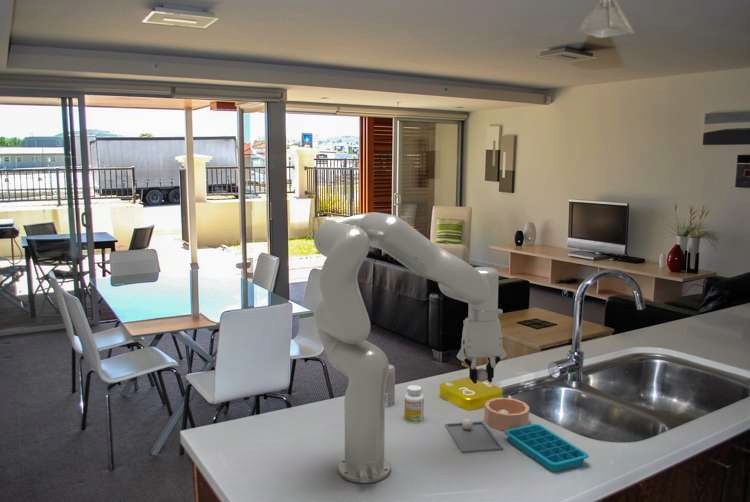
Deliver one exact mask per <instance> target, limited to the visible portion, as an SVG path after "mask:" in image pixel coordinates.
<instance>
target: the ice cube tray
mask: <svg viewBox="0 0 750 502" xmlns="http://www.w3.org/2000/svg"><path fill="white" fill-rule="evenodd" d="M504 434H505V435H506V436H507V437H508V439H507V440H508V442H509V443H511V444H513V445H514V446H515V447H516V448H518V449H520V450H521V451H522V452H523V453H524V454H527V456H530V457H531V458H532V459H534V460H535V461H536V462H538V463H539V464H541V465H542V466H544V467H545V468H546V469H548V470H549V471H552V472H558V471H563V470H566V469H570V468H574V467H576V468H579V467H583V465H584V463H585V460H586V459H588V458H589V454H588V453H587V452H585V451H584V450H582V449H580V448H579V447H577V446H575V445H574V444H572V443H571V442H570V441H568V440H566V439H565V438H563V437H561V436H559V434H556V433H555V432H553V431H552V430H551V429H548V428H546V427H545V426H543V425H541V424H539V423H532V424H528V425H527V426H522V427H518V428H513V429H508V430H506V431H504Z"/></svg>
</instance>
